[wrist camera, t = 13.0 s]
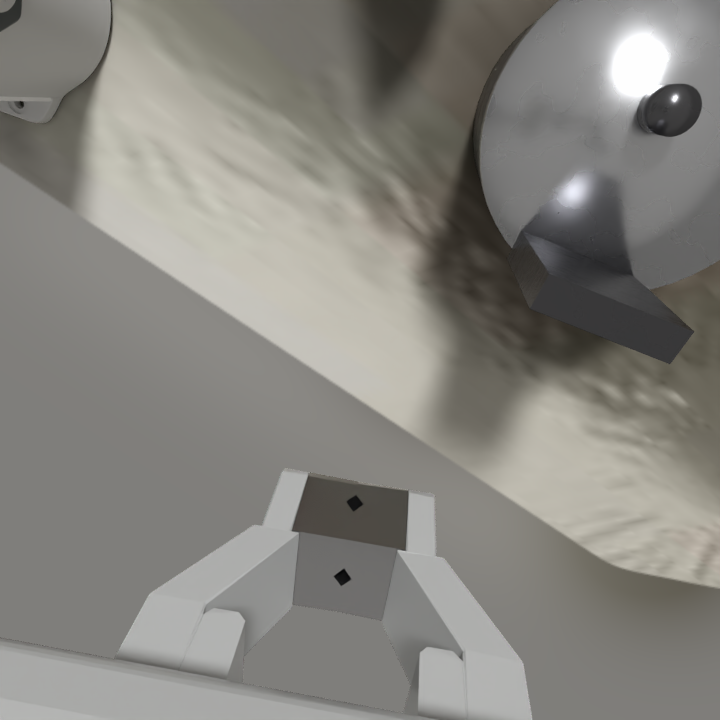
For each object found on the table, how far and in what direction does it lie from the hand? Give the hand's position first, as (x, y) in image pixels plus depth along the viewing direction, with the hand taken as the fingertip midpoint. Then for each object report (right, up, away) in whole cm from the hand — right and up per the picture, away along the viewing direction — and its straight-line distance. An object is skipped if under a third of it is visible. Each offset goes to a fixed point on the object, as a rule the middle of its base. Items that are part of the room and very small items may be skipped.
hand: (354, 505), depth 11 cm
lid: (+17, +16, +22) cm, 32 cm away
